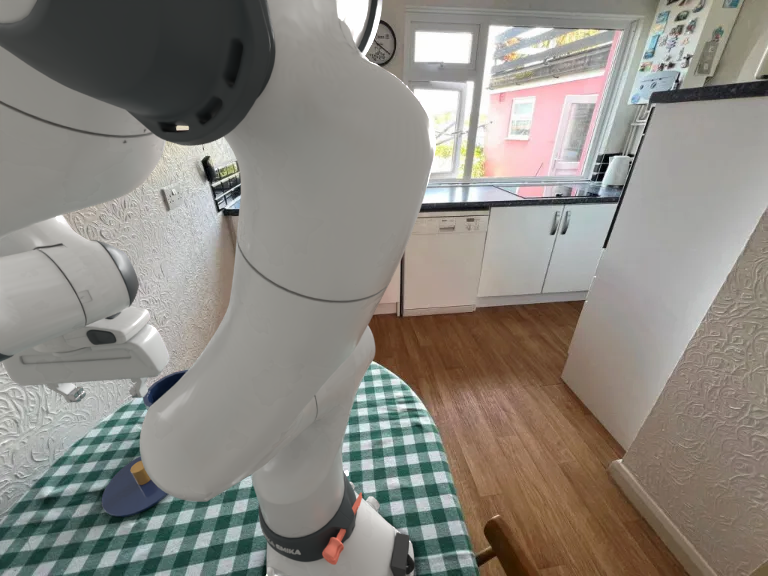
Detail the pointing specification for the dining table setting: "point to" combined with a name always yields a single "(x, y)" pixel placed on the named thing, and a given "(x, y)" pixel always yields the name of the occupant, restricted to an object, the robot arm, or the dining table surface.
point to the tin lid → (131, 491)
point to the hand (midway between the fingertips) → (109, 397)
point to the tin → (161, 387)
